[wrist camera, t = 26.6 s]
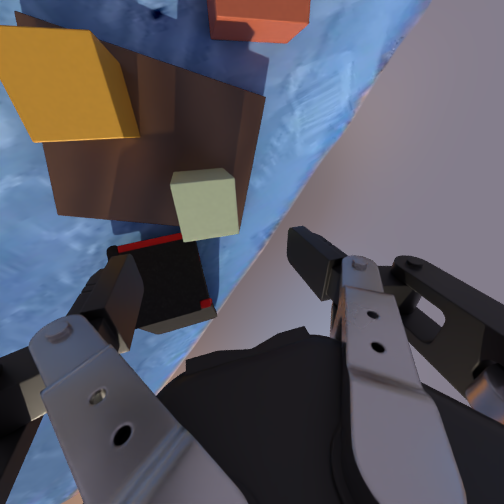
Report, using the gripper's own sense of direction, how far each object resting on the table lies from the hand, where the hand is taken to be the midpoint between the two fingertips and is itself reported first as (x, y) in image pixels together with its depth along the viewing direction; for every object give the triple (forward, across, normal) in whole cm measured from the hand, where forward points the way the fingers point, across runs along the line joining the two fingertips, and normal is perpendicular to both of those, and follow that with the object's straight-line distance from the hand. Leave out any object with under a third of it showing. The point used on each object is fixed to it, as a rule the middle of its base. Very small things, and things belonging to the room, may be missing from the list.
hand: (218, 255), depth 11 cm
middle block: (+14, 0, 0) cm, 14 cm away
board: (+15, +3, -4) cm, 15 cm away
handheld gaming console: (+9, +6, +9) cm, 14 cm away
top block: (+14, +7, -8) cm, 17 cm away
